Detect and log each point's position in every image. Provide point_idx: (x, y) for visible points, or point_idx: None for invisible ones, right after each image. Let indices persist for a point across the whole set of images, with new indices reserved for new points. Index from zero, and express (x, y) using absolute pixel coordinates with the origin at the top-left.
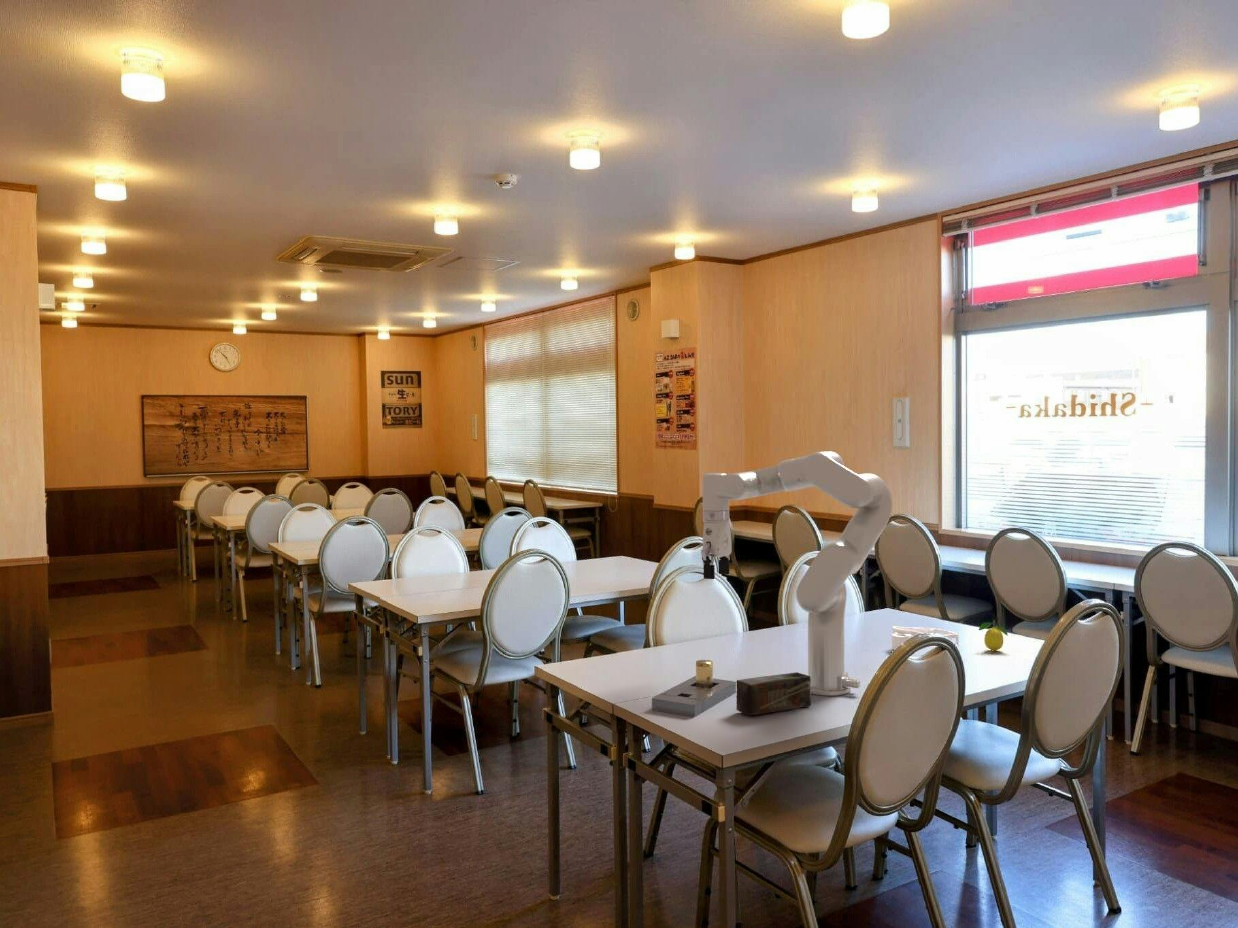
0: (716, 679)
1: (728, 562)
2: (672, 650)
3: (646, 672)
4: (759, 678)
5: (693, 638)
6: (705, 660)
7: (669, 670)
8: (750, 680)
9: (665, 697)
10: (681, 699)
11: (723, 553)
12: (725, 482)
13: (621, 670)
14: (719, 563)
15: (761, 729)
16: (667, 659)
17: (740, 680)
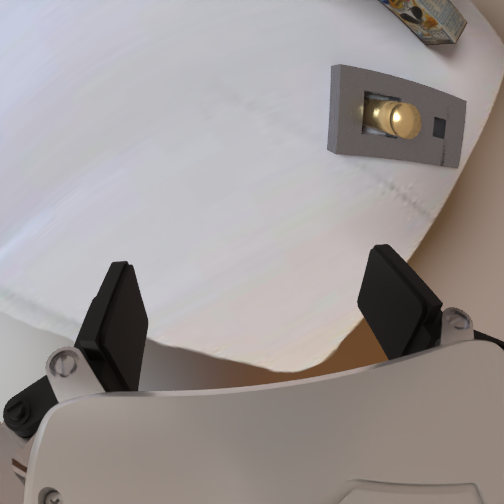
0: (343, 104)
1: (100, 327)
2: None
3: (275, 270)
4: (434, 6)
5: (44, 315)
6: (397, 122)
7: (242, 246)
8: (452, 21)
9: (452, 151)
10: (454, 126)
11: (401, 393)
12: None
13: (281, 305)
14: (137, 375)
15: None
16: (174, 287)
17: (456, 37)
